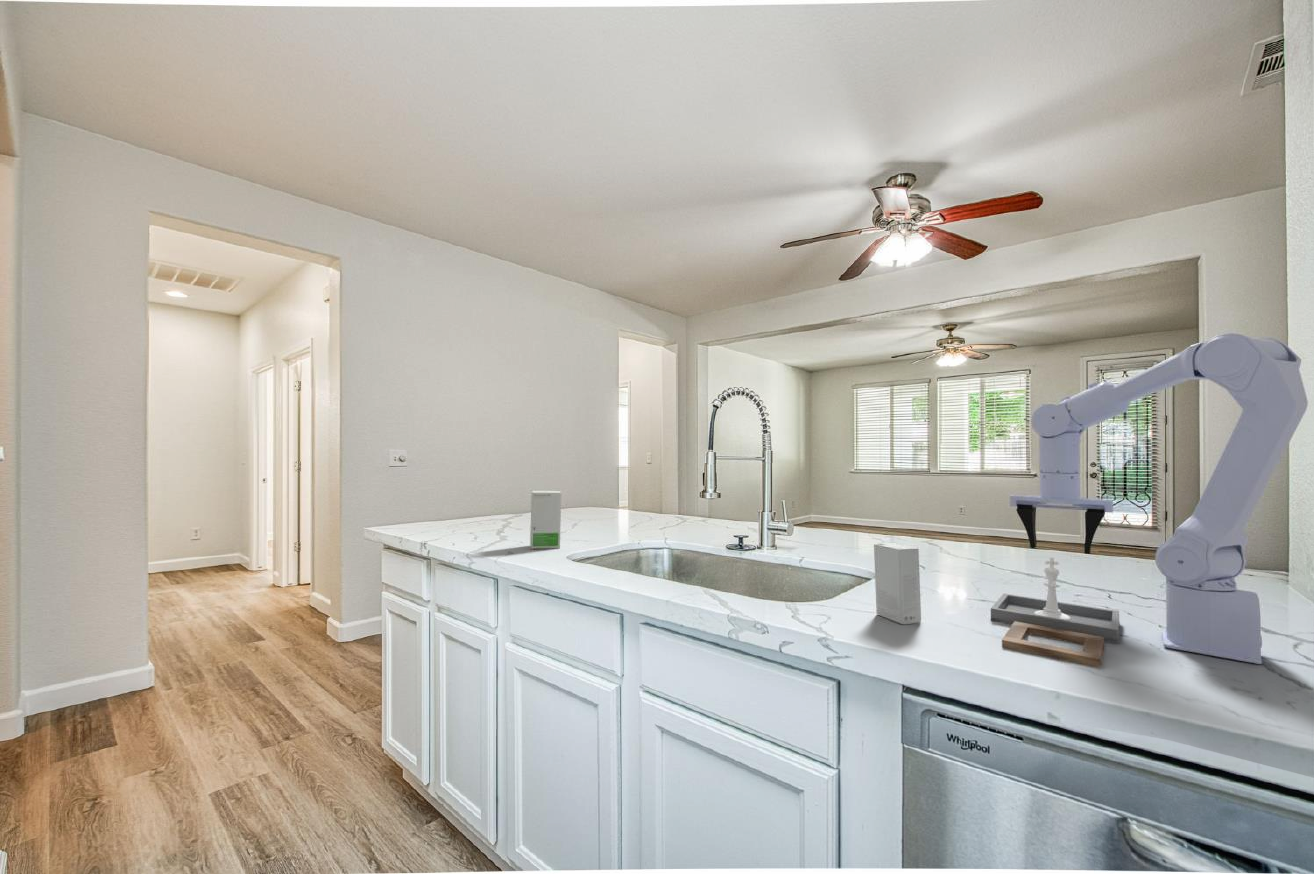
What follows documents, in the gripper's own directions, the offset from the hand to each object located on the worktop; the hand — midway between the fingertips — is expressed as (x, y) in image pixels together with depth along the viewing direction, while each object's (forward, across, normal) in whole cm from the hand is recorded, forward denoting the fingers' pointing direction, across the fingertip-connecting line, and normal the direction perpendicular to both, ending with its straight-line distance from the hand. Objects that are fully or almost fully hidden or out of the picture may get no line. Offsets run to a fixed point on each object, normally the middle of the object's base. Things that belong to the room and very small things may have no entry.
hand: (1059, 550), depth 97 cm
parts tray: (+10, 0, -9) cm, 14 cm away
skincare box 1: (+11, -115, -23) cm, 118 cm away
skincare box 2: (+11, -20, -24) cm, 33 cm away
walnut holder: (+10, +1, -22) cm, 24 cm away
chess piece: (+10, 0, -10) cm, 14 cm away
